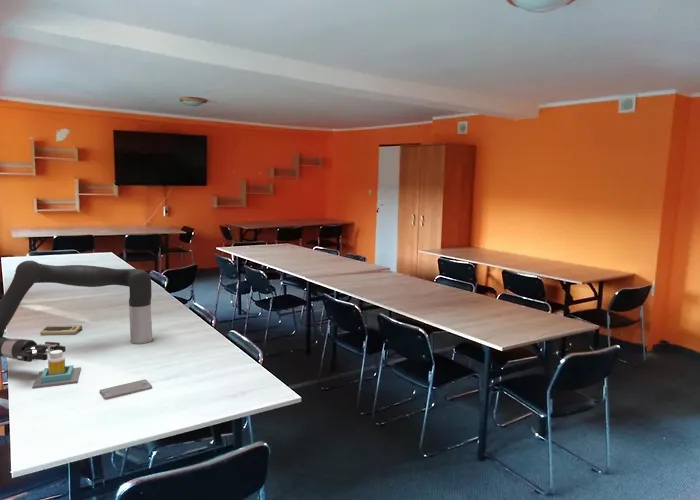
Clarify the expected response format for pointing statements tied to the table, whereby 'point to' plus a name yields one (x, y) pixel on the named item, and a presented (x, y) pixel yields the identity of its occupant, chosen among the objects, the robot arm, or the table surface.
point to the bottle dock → (57, 377)
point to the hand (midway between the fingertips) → (56, 353)
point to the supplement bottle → (56, 363)
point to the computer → (61, 330)
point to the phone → (125, 389)
